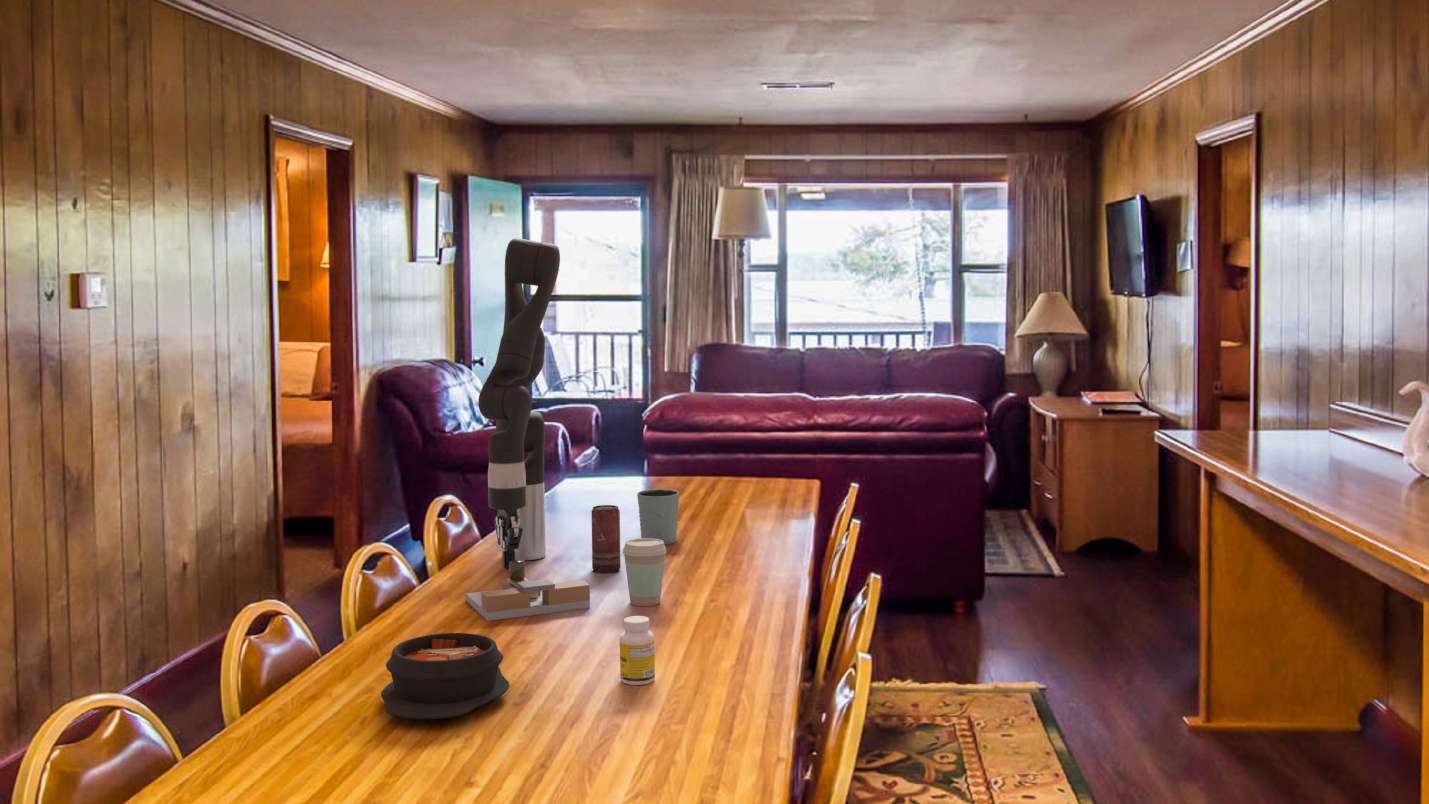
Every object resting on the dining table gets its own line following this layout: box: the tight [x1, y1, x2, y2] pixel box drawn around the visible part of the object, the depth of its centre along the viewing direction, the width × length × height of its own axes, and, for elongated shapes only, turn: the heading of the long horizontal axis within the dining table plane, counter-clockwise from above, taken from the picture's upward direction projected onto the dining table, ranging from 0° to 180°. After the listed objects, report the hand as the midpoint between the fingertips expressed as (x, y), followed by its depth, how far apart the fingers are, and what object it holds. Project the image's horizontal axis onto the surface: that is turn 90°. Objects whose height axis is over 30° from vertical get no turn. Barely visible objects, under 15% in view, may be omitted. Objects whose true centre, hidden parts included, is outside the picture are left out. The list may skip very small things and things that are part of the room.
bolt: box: [506, 560, 538, 598], centre depth 236 cm, size 10×3×6 cm, turn 26°
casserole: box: [380, 632, 510, 720], centre depth 178 cm, size 25×19×8 cm
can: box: [591, 504, 621, 574], centre depth 261 cm, size 6×6×14 cm
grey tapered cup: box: [636, 488, 680, 545], centre depth 291 cm, size 10×10×12 cm
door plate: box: [465, 578, 591, 622], centre depth 233 cm, size 16×20×6 cm
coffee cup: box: [622, 537, 667, 607], centre depth 234 cm, size 8×8×12 cm
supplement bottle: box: [619, 615, 656, 686], centre depth 187 cm, size 5×5×10 cm
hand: (508, 568), depth 244 cm, fingers closed
